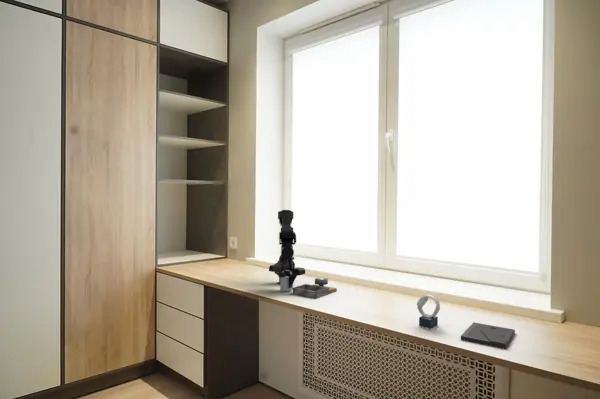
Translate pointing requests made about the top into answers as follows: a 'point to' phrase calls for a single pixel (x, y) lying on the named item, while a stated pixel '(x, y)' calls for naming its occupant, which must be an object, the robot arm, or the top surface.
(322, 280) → the wheel
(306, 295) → the tray
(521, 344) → the top surface
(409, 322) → the top surface
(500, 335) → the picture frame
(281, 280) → the grey-blue block
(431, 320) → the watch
